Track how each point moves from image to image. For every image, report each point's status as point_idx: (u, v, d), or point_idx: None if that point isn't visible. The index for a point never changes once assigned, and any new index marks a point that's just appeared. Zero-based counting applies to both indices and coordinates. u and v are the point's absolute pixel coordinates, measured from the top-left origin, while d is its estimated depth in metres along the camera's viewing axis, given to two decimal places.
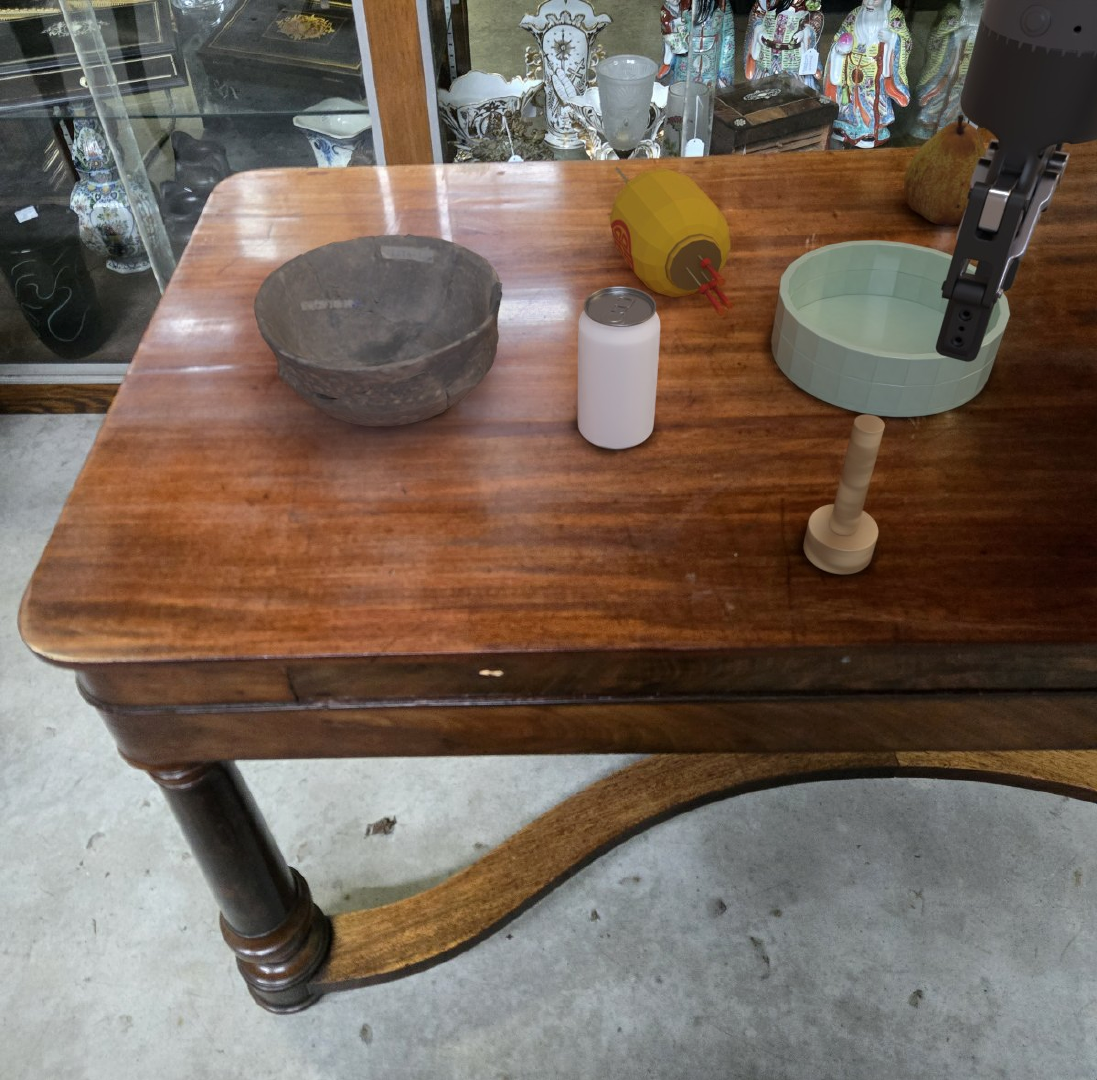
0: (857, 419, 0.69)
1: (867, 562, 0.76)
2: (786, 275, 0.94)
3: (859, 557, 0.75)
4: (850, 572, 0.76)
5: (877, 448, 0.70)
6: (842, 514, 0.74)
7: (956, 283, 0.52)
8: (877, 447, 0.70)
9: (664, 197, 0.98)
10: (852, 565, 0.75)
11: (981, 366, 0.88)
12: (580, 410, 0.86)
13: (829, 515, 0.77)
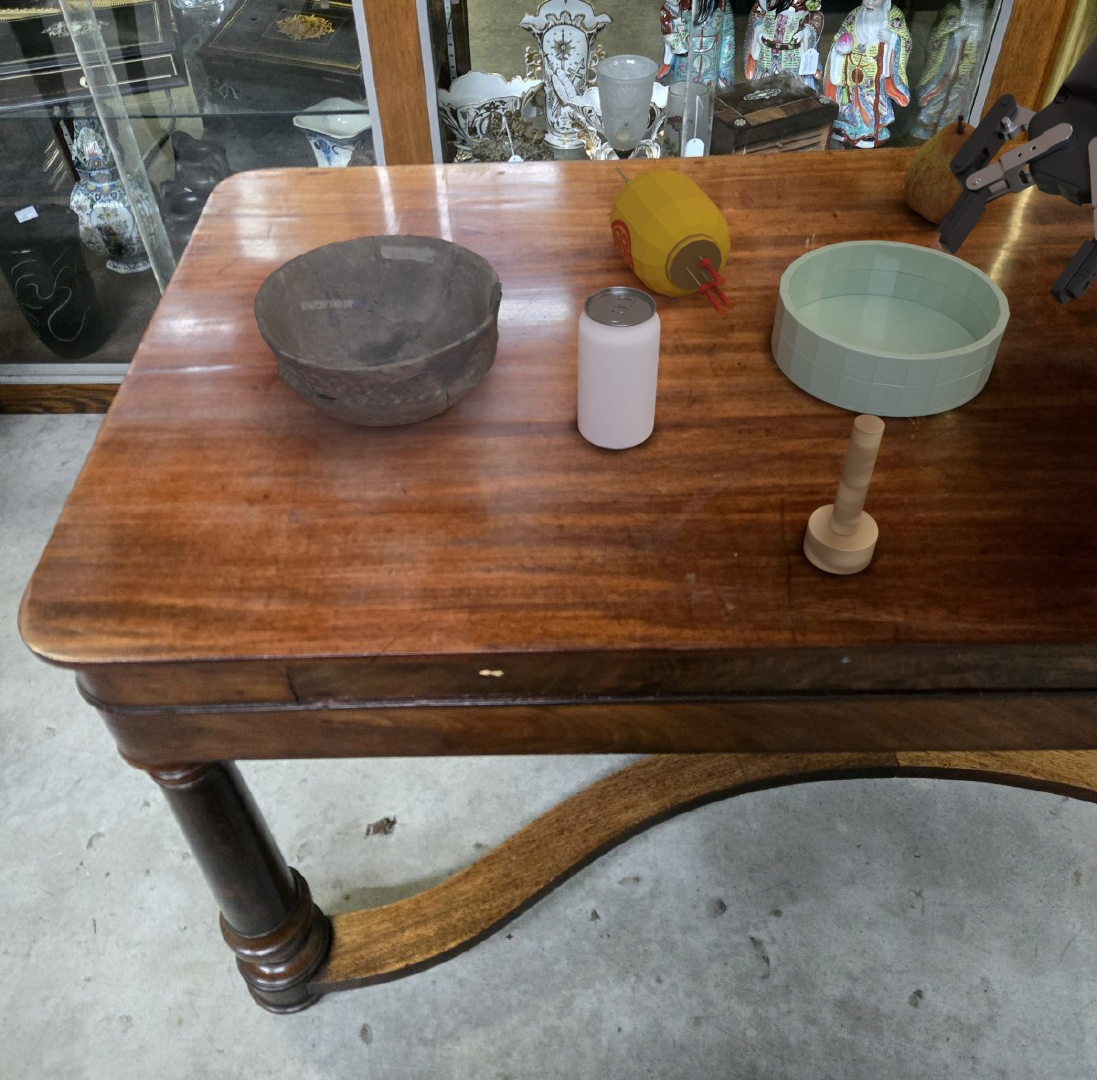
0: (857, 419, 0.69)
1: (867, 562, 0.76)
2: (786, 275, 0.94)
3: (859, 557, 0.75)
4: (850, 572, 0.76)
5: (877, 448, 0.70)
6: (842, 514, 0.74)
7: None
8: (877, 447, 0.70)
9: (664, 197, 0.98)
10: (852, 565, 0.75)
11: (981, 366, 0.88)
12: (580, 410, 0.86)
13: (829, 515, 0.77)
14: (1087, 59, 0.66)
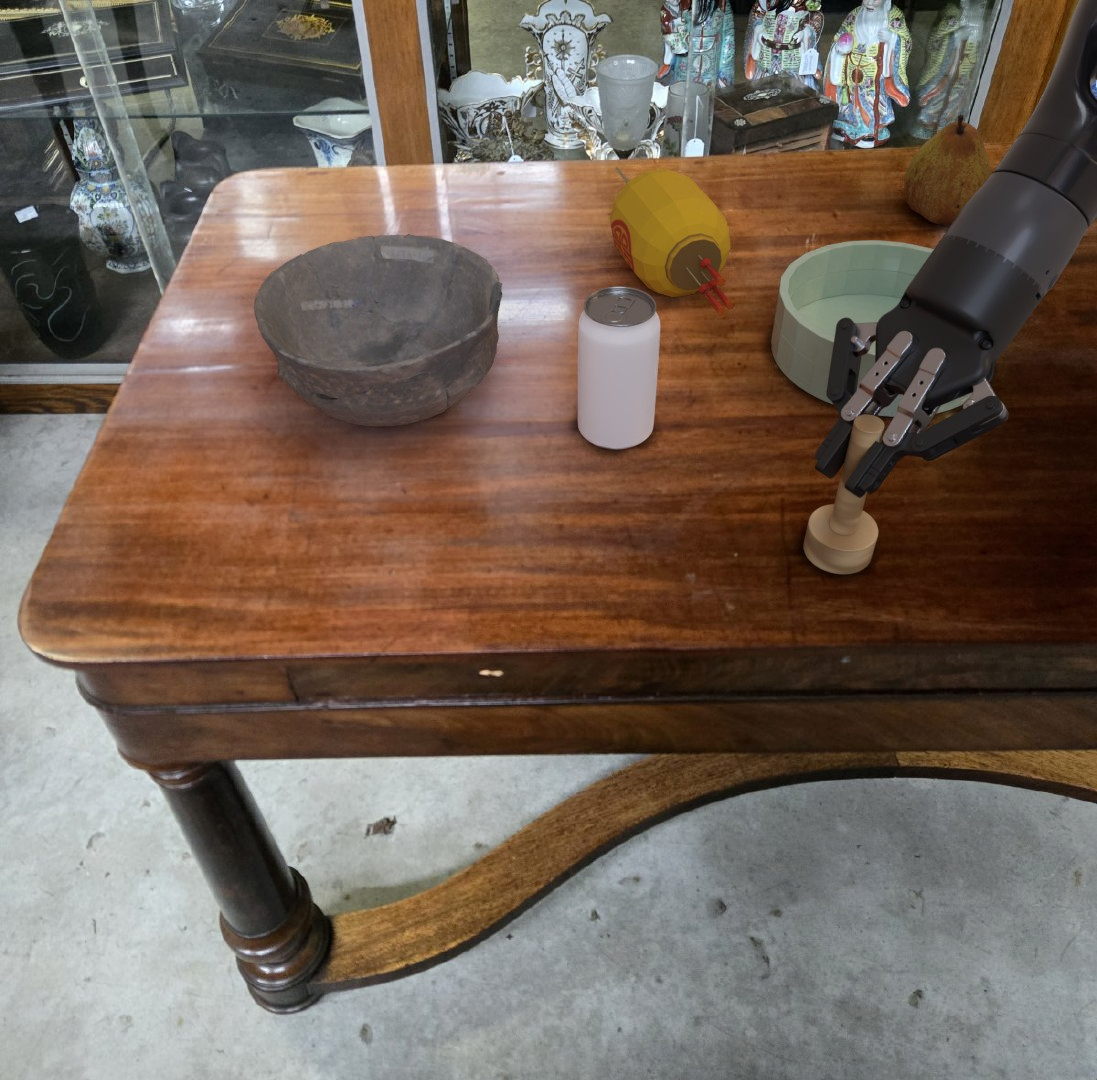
0: (857, 419, 0.69)
1: (867, 562, 0.76)
2: (786, 275, 0.94)
3: (859, 557, 0.75)
4: (850, 572, 0.76)
5: None
6: (842, 514, 0.74)
7: None
8: None
9: (664, 197, 0.98)
10: (852, 565, 0.75)
11: None
12: (580, 410, 0.86)
13: (829, 515, 0.77)
14: (925, 273, 0.67)
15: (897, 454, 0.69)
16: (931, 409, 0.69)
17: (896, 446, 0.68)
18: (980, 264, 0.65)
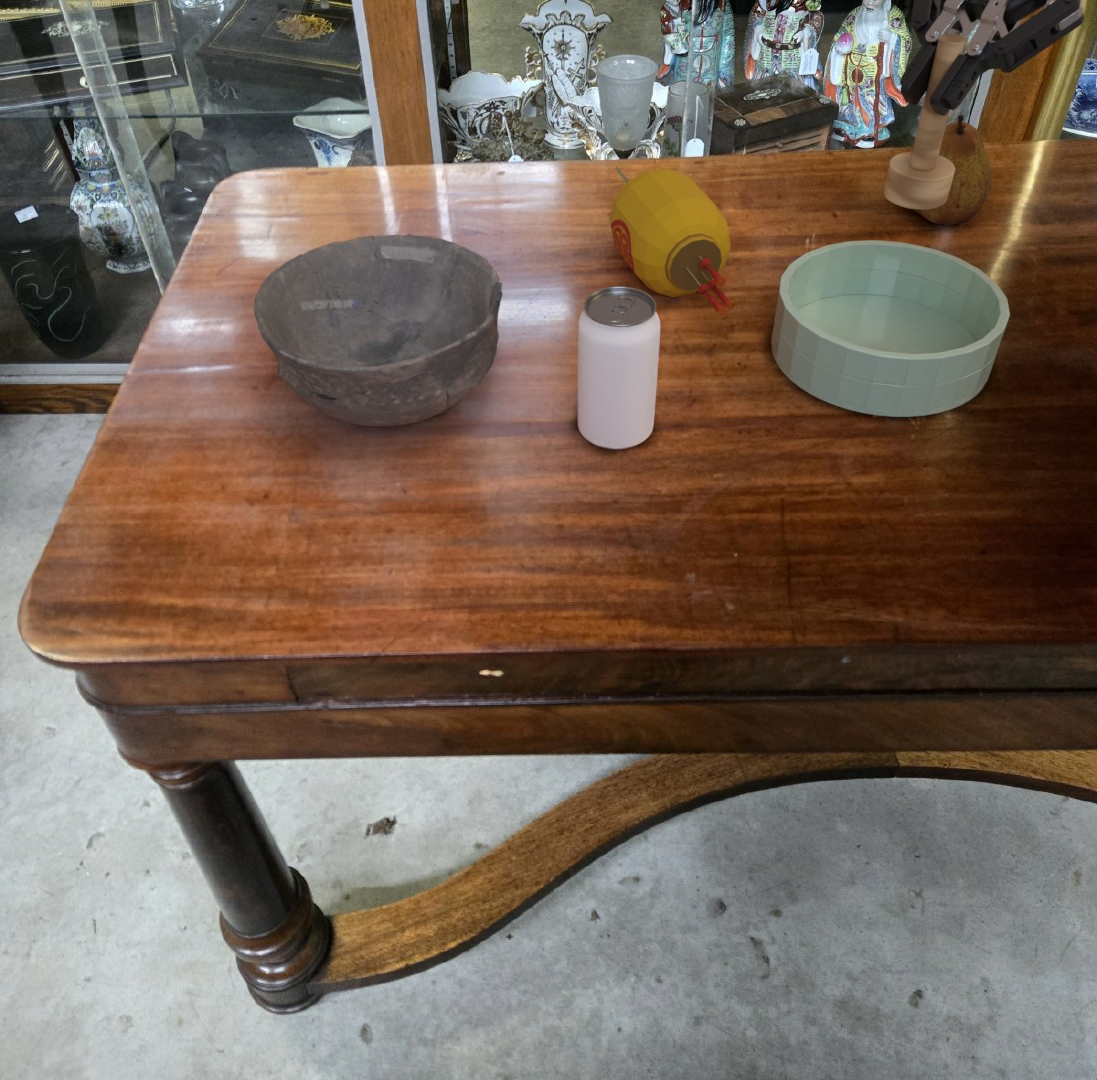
0: (942, 36, 0.75)
1: (944, 198, 0.82)
2: (786, 275, 0.94)
3: (938, 189, 0.80)
4: (929, 207, 0.81)
5: None
6: (923, 145, 0.80)
7: None
8: None
9: (664, 197, 0.98)
10: (931, 198, 0.81)
11: (981, 366, 0.88)
12: (580, 410, 0.86)
13: (908, 158, 0.82)
14: None
15: (979, 65, 0.75)
16: (1010, 28, 0.75)
17: (979, 55, 0.74)
18: None
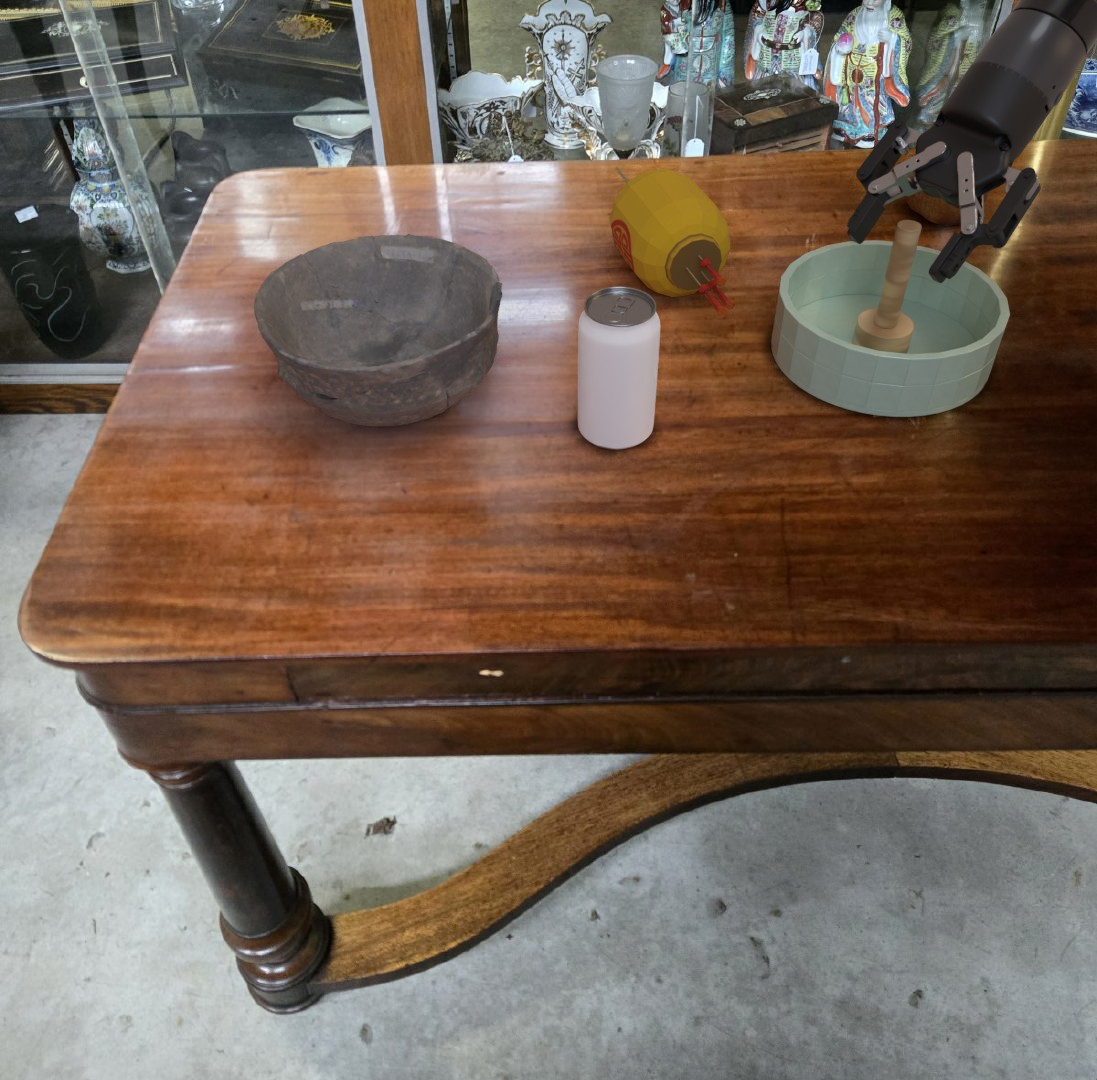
0: (899, 222, 0.87)
1: (905, 351, 0.94)
2: (786, 275, 0.94)
3: (899, 345, 0.93)
4: None
5: (915, 246, 0.88)
6: (885, 308, 0.92)
7: None
8: (915, 245, 0.88)
9: (664, 197, 0.98)
10: None
11: (981, 366, 0.88)
12: (580, 410, 0.86)
13: (874, 315, 0.95)
14: (956, 92, 0.85)
15: (972, 242, 0.84)
16: (979, 205, 0.86)
17: (976, 231, 0.84)
18: (1001, 80, 0.82)
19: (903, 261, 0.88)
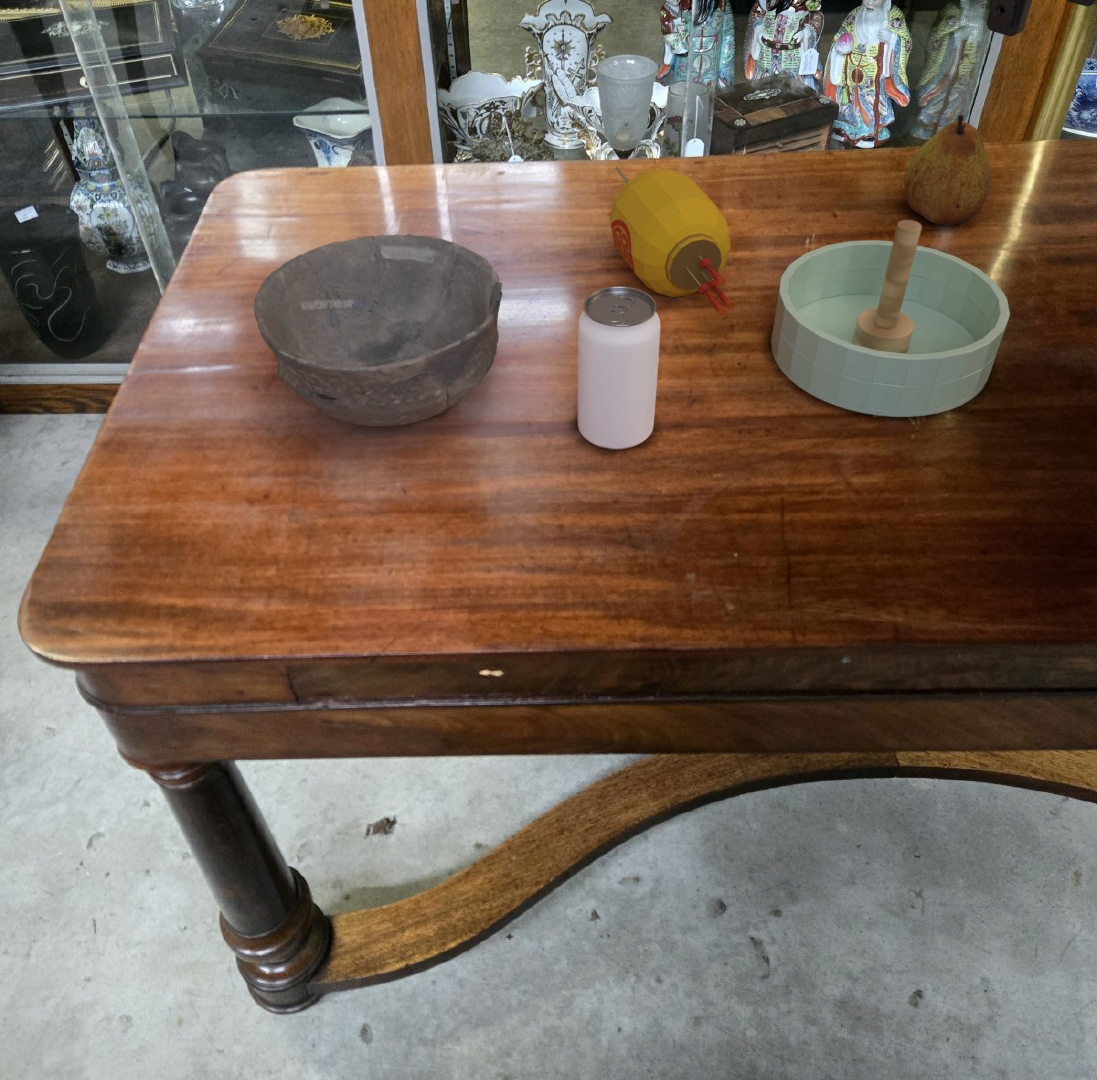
0: (899, 222, 0.87)
1: (905, 351, 0.94)
2: (786, 275, 0.94)
3: (899, 345, 0.93)
4: None
5: (915, 246, 0.88)
6: (885, 308, 0.92)
7: None
8: (915, 245, 0.88)
9: (664, 197, 0.98)
10: None
11: (981, 366, 0.88)
12: (580, 410, 0.86)
13: (874, 315, 0.95)
14: None
15: None
16: None
17: None
18: None
19: (903, 261, 0.88)
